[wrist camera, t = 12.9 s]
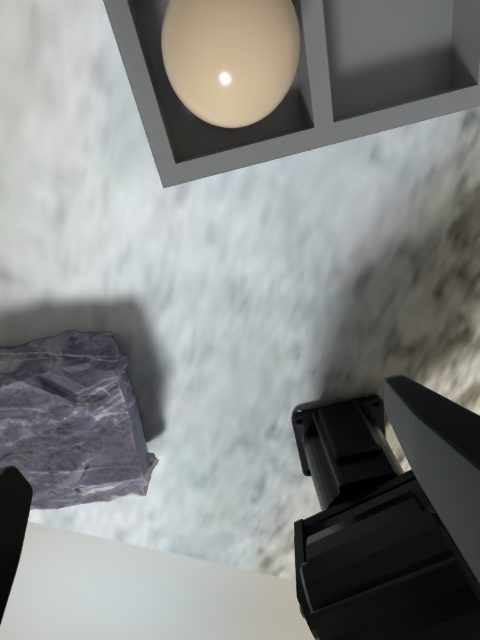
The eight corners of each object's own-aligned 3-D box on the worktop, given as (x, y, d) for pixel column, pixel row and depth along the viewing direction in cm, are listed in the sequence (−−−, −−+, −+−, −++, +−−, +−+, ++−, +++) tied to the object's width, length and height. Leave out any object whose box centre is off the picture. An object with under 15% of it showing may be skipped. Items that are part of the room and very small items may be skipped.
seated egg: (283, 111, 17) (325, 108, 11) (190, 136, 17) (181, 146, 11) (265, -14, 14) (303, -100, 9) (157, 17, 15) (126, -49, 9)
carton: (603, 66, 17) (660, 59, 15) (168, 179, 18) (163, 188, 16) (656, -177, 14) (742, -234, 11) (106, -21, 14) (88, -45, 12)
